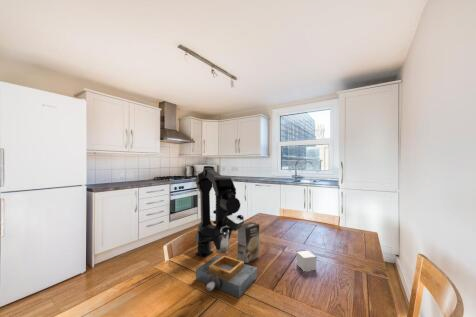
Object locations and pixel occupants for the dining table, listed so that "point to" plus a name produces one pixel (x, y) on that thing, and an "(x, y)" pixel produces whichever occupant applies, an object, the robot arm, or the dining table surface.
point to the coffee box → (248, 242)
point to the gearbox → (227, 275)
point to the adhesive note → (306, 260)
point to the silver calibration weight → (224, 243)
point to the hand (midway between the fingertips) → (222, 247)
